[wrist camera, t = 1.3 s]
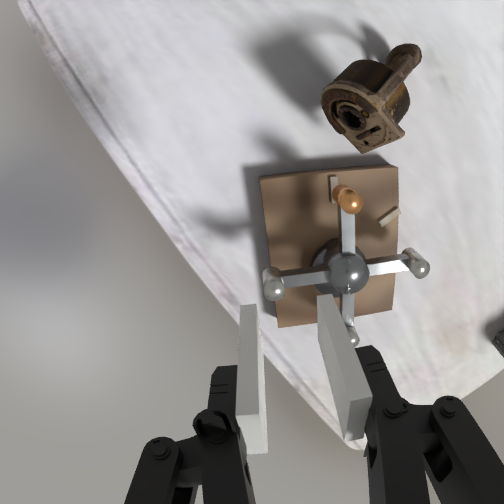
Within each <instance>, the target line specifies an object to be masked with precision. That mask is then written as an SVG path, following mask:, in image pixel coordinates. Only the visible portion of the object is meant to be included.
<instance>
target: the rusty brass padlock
mask: <svg viewBox="0 0 504 504" xmlns="http://www.w3.org/2000/svg"><path fill="white" fill-rule="evenodd" d="M421 58H422V54H421V50H420V48H419V47H418V46H417V45H415V44H402V45H399V46H396V47H395V48H394V49H392V50H391V52H390V53H389V55H388V57H387V61H386V66H385V65H384V64H382V63H379V62H377V61H373V60H364V59H363V60H357V61H355V62H353V63H352V64H350V65H349V66H348V67H347V68H346V69H345V70H344V71H343V72H342V73H341V74H340V75H339V76H338V77H337V78H336V79H335V80H334V81H333V82H332V83H330V84H329V85H327V86H326V87H325V88H324V89H323V91H322V94H321V99H320V100H321V105H322V108H323V111H324V113H325V115H326V117H327V119H328V121H329V123H330V124H331V125H332V126H333V128H334V129H335V130H336V131H337V132H338V133H339V134H343V135H344V136H345V137H346V138H347V139H348V140H349V141H350V142H351V143H352V144H353V145H354V146H355V147H356V148H357V149H358V150H359V152H360V153H361V154H364V153H366V152H369V151H371V150H373V149H376V148H378V147H381V146H383V145H386V144H388V143H391V142H393V141H396V140H398V139H400V138H402V137H403V136H404V135H405V132H404V131H403V130H402V129H401V128H400V126H399V125H398V123H399V122H400V121H401V119H402V118H403V116H404V115H405V114H406V112H407V111H408V109H409V105H410V97H409V93H408V90H407V88H406V86H405V84H404V82H403V81H404V80H405V79H406V77H407V76H408V75H409V74H410V73H411V71H412V70H413V69H414V68H415V67H416V66H417V65H418V64H419V63H420V62H421Z"/></svg>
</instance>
